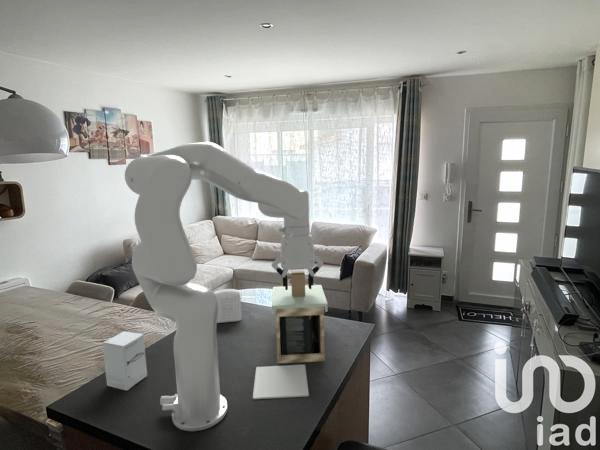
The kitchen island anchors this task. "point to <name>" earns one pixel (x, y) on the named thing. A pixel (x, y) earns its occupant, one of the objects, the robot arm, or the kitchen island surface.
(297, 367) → the mat
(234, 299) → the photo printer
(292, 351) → the tampon box
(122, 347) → the supplement box
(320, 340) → the crate
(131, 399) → the kitchen island surface
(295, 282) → the lid
